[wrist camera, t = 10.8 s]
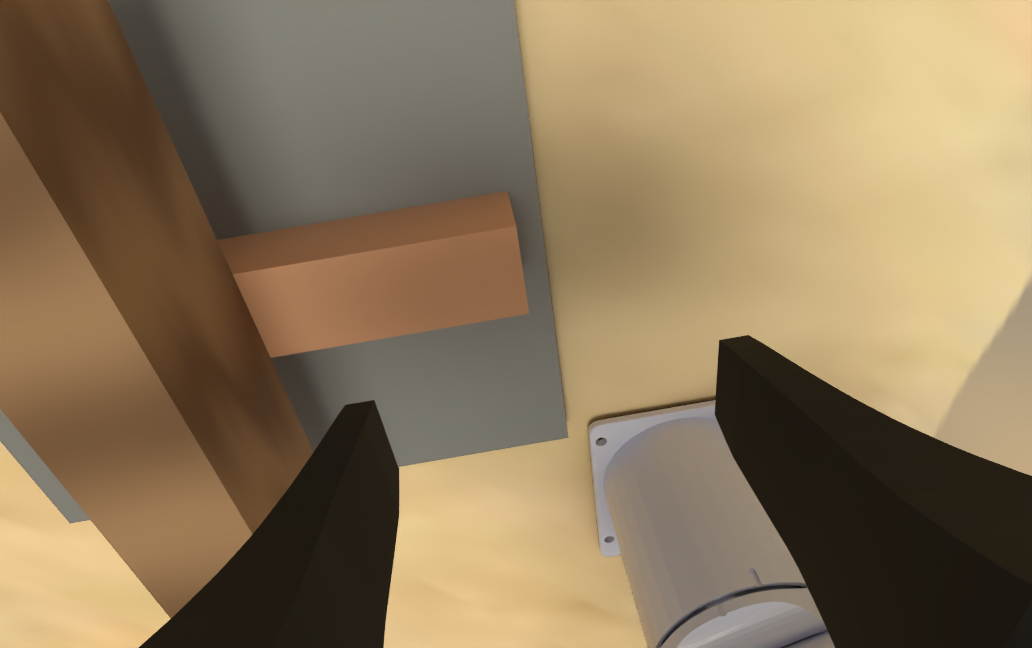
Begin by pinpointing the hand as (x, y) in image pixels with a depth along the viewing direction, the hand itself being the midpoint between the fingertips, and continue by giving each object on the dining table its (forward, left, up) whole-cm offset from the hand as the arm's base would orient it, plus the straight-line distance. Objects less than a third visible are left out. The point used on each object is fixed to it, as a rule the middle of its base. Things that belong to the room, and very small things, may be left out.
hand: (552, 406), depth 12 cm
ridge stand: (0, +10, -10) cm, 14 cm away
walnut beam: (0, +10, -6) cm, 12 cm away
